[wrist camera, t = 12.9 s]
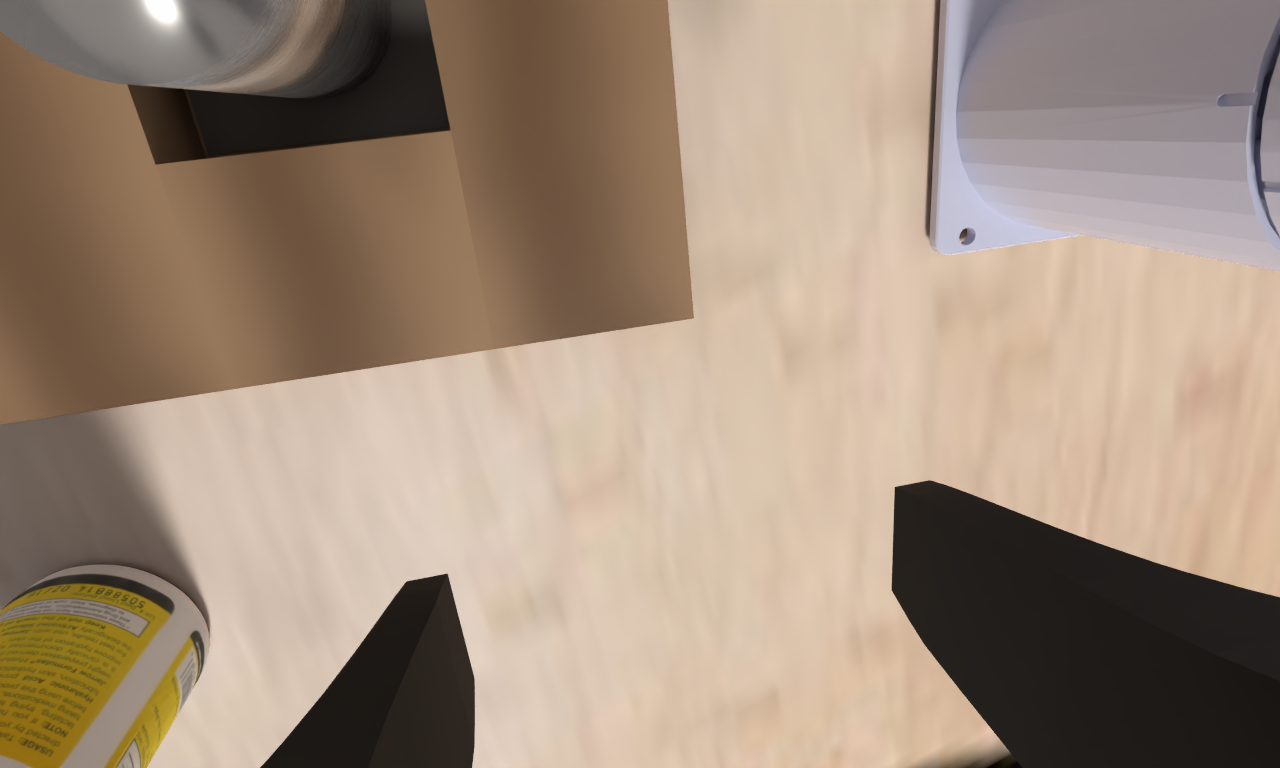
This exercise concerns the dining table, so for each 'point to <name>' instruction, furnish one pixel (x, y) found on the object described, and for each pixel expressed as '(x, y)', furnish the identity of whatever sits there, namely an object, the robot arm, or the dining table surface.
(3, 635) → the supplement bottle
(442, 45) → the socket block
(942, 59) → the robot arm
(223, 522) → the dining table surface
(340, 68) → the steel pin
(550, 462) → the dining table surface
